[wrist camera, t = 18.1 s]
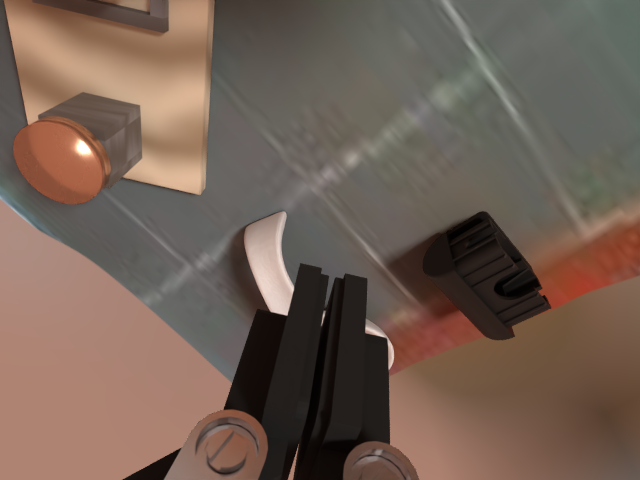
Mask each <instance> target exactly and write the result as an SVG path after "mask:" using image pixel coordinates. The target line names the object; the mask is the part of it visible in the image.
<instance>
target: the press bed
mask: <svg viewBox="0 0 640 480" xmlns="http://www.w3.org/2000/svg"><path fill="white" fill-rule="evenodd" d="M4 3H5V8H6V13H7V18H8V24H9V29H10V34H11V39H12V44H13V49H14V54H15V59H16V64H17V70H18V75H19V80H20V85H21V90H22V95H23V100H24V105H25V111H26V116H27V121H28V125H30V124H32V123H33V122H35V121H37V120H39V119H41V118H44V117H50V116H58V117H64V118H67V119H70V120H72V121H75V122H77V123H79V124H81V125H82V126H84V127H85V128H86V129H88V130H89V131H90V132H91V133H92V134H93V135H94V136H95V137H96V138H97V139H98V140H99V141H100V143H101V144H102V146H103V147H104V149H105V151H106V153H107V155H108V158H109V161H110V166H111V173H110V178H109V181H108V183H107V185H106V186H105V188H109V189H110V188H111V187H112V186H113V185H114V184H115V183H116V182H117V181H118V180H119V179H121V178H122V177H124V178H128V179H133V180H137V181H141V182H146V183H150V184H154V185H159V186H163V187H168V188H172V189H176V190H181V191H185V192H189V193H194V194H198V195H200V194H201V193H202V192H203V190H204V189H205V182H206V163H207V143H208V123H209V103H210V83H211V64H212V44H213V24H214V4H215V0H4Z"/></svg>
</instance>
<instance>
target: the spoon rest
mask: <svg viewBox="0 0 640 480" xmlns="http://www.w3.org/2000/svg"><path fill="white" fill-rule="evenodd" d="M286 218H287V215H286V212H284V211H282V212H278V213H276V214H273V215H271V216H269V217H266V218H264V219H261V220H259V221H256V222H254V223H252V224H250V225H249V226H247V227H246V230H245V234H244V245H245V250H246V254H247V258H248V261H249V264H250V267H251V270H252V273H253V275H254V278H255V280H256V283H257V285H258V287H259V290H260V292H261V294H262V296H263V298H264V300H265V302H266V304H267V306H268V308H269V310H270V312H274V313H278V314H283V315H288V311H289V307H290V303H291V299H292V295H293V291H294V285H293V284H292V282H291V280H290V278H289V276H288V274H287V271H286V269H285V266H284V262H283V257H282V249H281V242H282V234H283V230H284V226H285V222H286ZM325 312H326V311H324V312H323V319H324V316H325ZM323 319H322V323H323ZM321 326H322V325H321ZM365 333H367V334H372V335H376V336H381V337H385V338H387V340H388V362H389V369H390V367H391V366H392V363H393V360H394V350H393V346H392V344H391V342H390V340H389V339H388V337H387V336H386V334H385V333H384V332H383V331H382V330H381V329H380V328H379V327H378V326H377V325H375V324H374V323H372V322H371V321H369V320H368V319H366V328H365Z"/></svg>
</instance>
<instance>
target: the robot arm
mask: <svg viewBox="0 0 640 480" xmlns="http://www.w3.org/2000/svg"><path fill="white" fill-rule="evenodd" d="M321 270H322V268H319V267H315V266H310V265H306V264H301V263H300V267H299V271H298V275H297V279H296V283H295V287H294V291H293V295H292V299H291V303H290V307H289V311H288V315H283V314H278V313H274V312H269V311H265V310H260V309H257V311H256V314H255V317H254V320H253V323H252V326H251V329H250V332H249V335H248V338H247V341H246V344H245V347H244V350H243V353H242V356H241V359H240V362H239V365H238V368H237V371H236V374H235V377H234V380H233V383H232V386H231V389H230V392H229V395H228V398H227V401H226V404H225V407H224V410H220V411H217V412H214V413H212V414H209V415H208V416H206V417H205V418H203V419H202V420H201V421H199V422H198V423H197V425H196V426H195V427H194V429H193V430H192V431H191V433H190V434H189V436H188V438H187V440H186V442H185V443H184V445H183V447H182V448H180V449H178V450H176V451H175V452H173V453H171V454H169V455H167V456H165V457H164V458H162V459H160V460H158V461H156V462H154V463H152V464H150V465H149V466H147V467H145V468H143V469H141V470H139V471H138V472H136V473H134V474H132V475H131V476H128V477H127V478H125V479H123V480H288V477H289V474H290V470H291V467H292V464H293V461H294V457H295V454H296V451H297V448H298V453H297V460H296V466H295V472H294V478H293V480H419V478H418V475H417V472H416V469H415V468H414V466H413V465H412V464H411V462H410V460H409V459H408V458H407V457H406V456H405V455H404V454H403V453H402V452H401V451H400V450H399V449H397V448H395V447H393V446H391V445H390V420H389V362H388V340H387V338H385V337H381V336H376V335H372V334H367V333H365V328H366V303H367V278H363V277H359V276H354V275H350V274H345V275H344V278H343V279H341V278H337V277H336V278H335V280H334V284H333V287H332V291H331V294H330V298H329V301H328V305H327V308H326V312H325V316H324V319H323V312H324V306H325V299H326V292H327V286H328V279H329V276H328V275H323V274H321ZM322 319H323V323H322ZM321 325H322V326H321ZM298 444H299V447H298Z"/></svg>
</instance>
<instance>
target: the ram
mask: <svg viewBox="0 0 640 480" xmlns="http://www.w3.org/2000/svg"><path fill="white" fill-rule="evenodd" d="M13 152H14V158H15V161H16V164H17V166H18V168H19V170H20V172H21V173H22V175H23V176H24V177H25V179H26V180H27V181H28V182H29V183H30V184H31V185H32V186H33V187H34V188H35V189H36V190H38V191H39V192H40V193H42V194H43V195H45V196H47V197H49V198H51V199H53V200H55V201H58V202H61V203H66V204H81V203H85V202H87V201H89V200H91V199H92V198H93V197H94V196H95V195H96V194H98V193H99V192H100V191H101V190H102V189H103V188H104V187H105V186H106V185H107V183H108V181H109V178H110V173H111V166H110V161H109V158H108V155H107V153H106V151H105V149H104V147H103V146H102V144H101V143H100V141H99V140H98V139H97V138H96V137H95V136H94V135H93V134H92V133H91V132H90V131H89V130H88V129H86V128H85V127H84V126H82V125H81V124H79V123H77V122H75V121H72V120H70V119H67V118H64V117H58V116H50V117H44V118H41V119H39V120H37V121H35V122H33V123H32V124H30V125H28V126H26V127H24V128H23V129H21V130H20V131H19V132H18V134H17V135H16V137H15V140H14V145H13Z"/></svg>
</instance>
